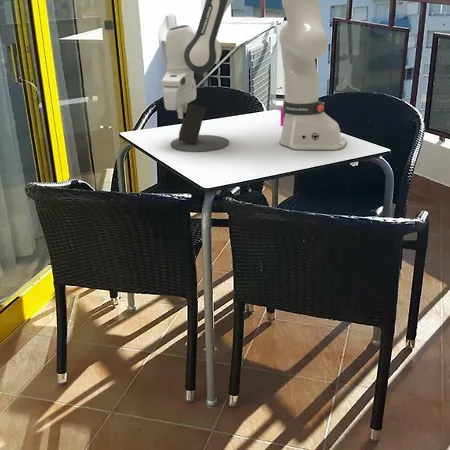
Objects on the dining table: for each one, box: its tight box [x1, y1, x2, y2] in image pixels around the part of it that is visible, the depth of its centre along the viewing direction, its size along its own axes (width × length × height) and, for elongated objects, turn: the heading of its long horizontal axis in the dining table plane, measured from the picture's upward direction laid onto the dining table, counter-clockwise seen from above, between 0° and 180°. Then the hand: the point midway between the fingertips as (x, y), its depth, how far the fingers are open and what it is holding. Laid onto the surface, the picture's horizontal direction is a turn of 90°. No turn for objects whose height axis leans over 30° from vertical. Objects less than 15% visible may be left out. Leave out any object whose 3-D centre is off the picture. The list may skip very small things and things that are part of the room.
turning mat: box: [170, 134, 230, 153], centre depth 217 cm, size 20×20×1 cm
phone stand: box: [178, 102, 206, 145], centre depth 216 cm, size 9×6×12 cm, turn 3°
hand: (182, 117), depth 216 cm, fingers closed, pressing on phone stand
